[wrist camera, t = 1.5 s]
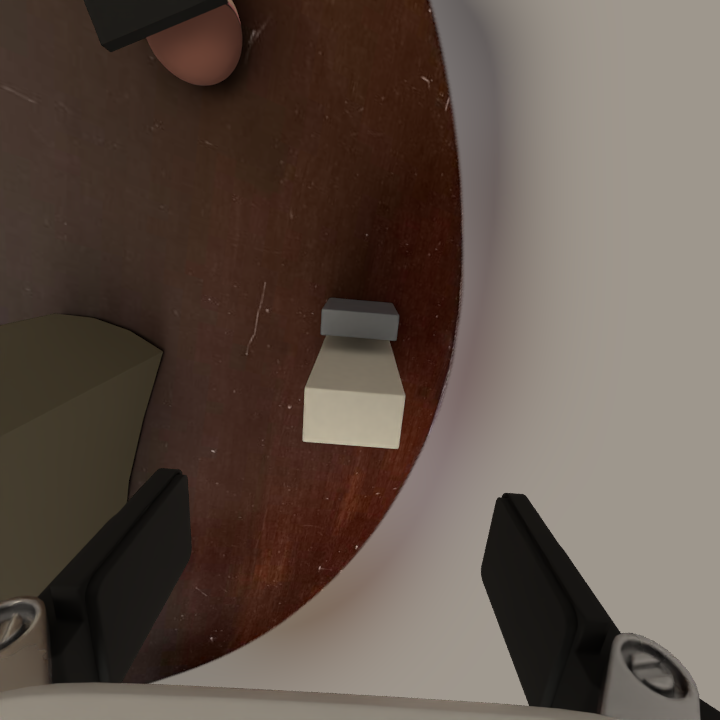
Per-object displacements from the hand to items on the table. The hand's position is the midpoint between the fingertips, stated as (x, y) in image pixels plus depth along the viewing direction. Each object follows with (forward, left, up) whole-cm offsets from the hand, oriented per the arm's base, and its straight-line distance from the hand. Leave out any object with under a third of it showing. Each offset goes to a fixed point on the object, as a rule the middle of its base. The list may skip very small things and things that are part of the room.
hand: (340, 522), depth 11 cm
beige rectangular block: (0, 0, -17) cm, 17 cm away
